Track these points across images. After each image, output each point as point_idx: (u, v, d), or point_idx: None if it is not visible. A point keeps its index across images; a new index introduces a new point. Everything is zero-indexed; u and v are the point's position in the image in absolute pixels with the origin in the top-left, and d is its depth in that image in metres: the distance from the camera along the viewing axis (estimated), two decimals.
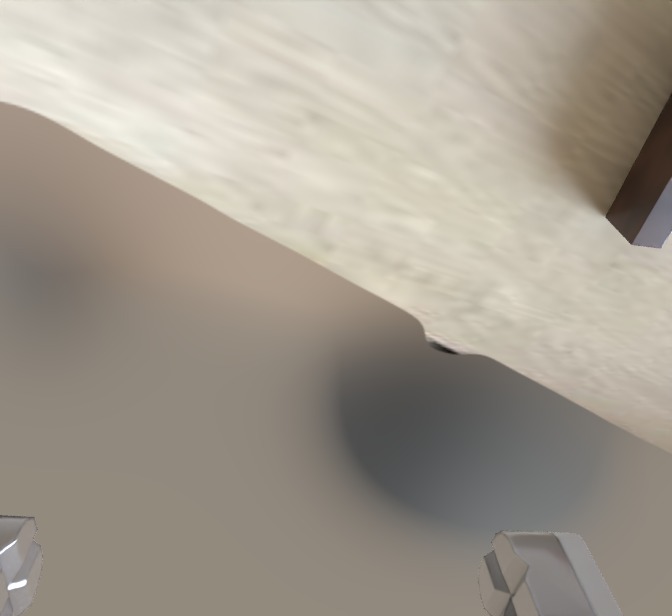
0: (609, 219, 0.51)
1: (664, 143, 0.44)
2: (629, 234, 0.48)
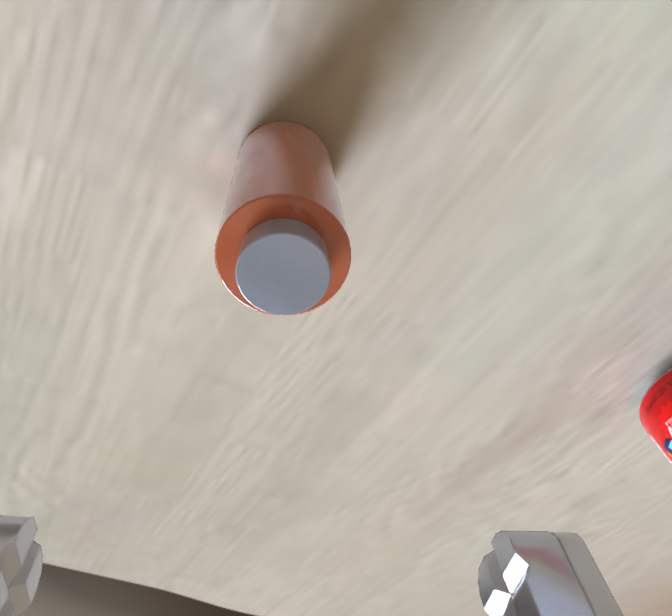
0: None
1: None
2: None
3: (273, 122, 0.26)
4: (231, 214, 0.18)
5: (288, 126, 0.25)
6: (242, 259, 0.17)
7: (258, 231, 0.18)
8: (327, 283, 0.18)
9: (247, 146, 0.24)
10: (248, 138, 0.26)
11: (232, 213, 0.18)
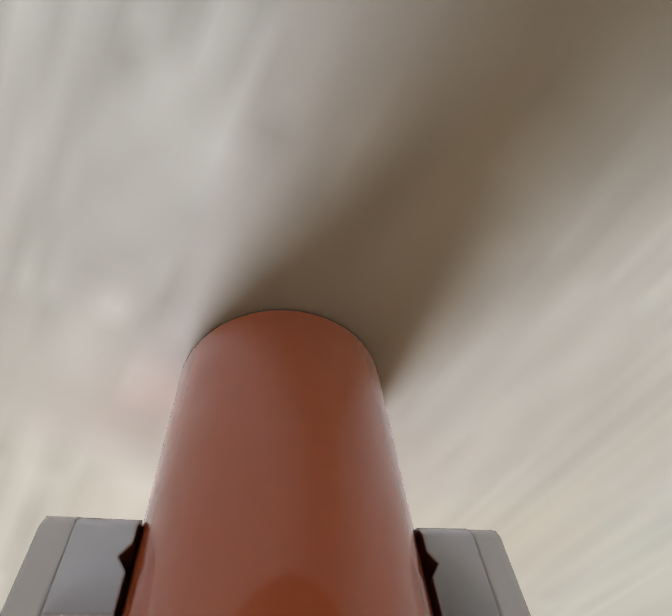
0: None
1: None
2: None
3: (256, 316, 0.12)
4: None
5: (290, 337, 0.11)
6: None
7: None
8: None
9: (192, 400, 0.10)
10: (200, 355, 0.11)
11: None
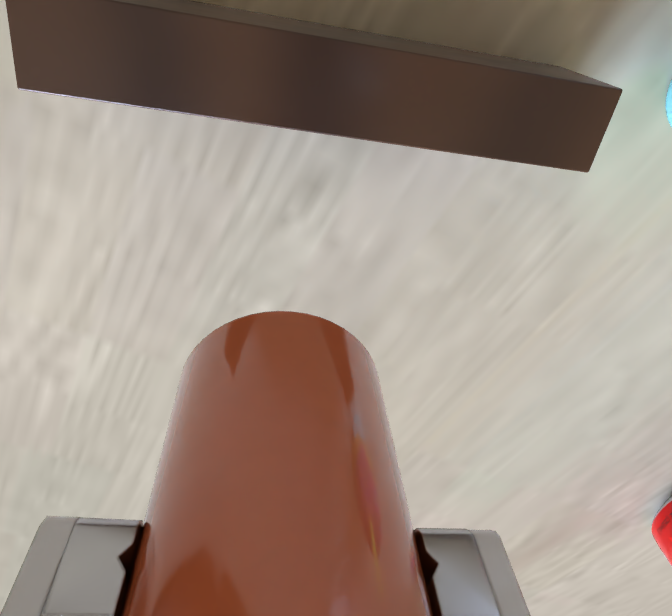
0: None
1: (285, 22, 0.19)
2: None
3: (256, 317, 0.12)
4: None
5: (290, 338, 0.11)
6: None
7: None
8: None
9: (192, 401, 0.10)
10: (200, 356, 0.11)
11: None
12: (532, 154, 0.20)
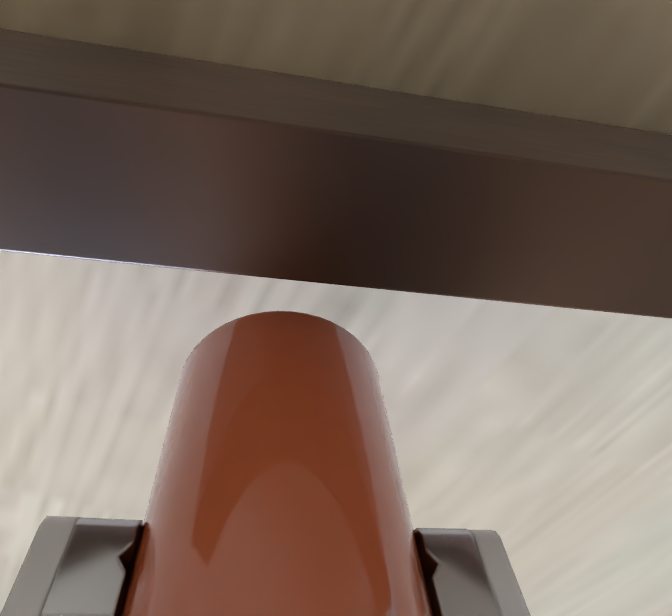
0: None
1: (308, 95, 0.11)
2: None
3: (256, 317, 0.12)
4: None
5: (290, 338, 0.11)
6: None
7: None
8: None
9: (192, 401, 0.10)
10: (200, 356, 0.11)
11: None
12: None
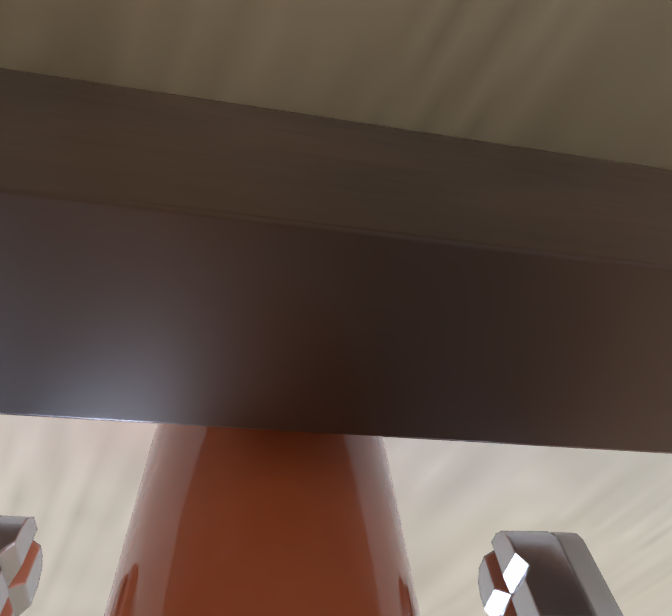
0: None
1: (302, 148, 0.08)
2: None
3: None
4: None
5: None
6: None
7: None
8: None
9: None
10: None
11: None
12: None
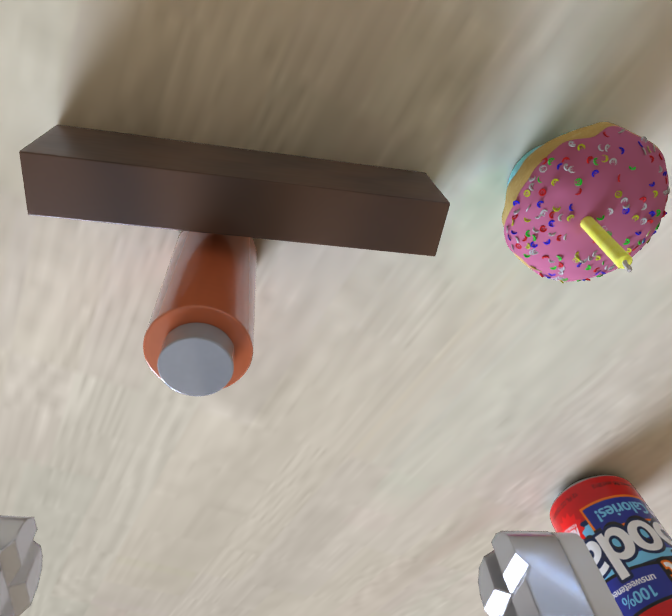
0: (55, 127, 0.27)
1: (215, 157, 0.27)
2: (39, 147, 0.24)
3: None
4: (154, 320, 0.23)
5: None
6: (162, 357, 0.22)
7: (174, 335, 0.23)
8: (231, 372, 0.23)
9: (180, 242, 0.29)
10: (183, 232, 0.31)
11: (154, 320, 0.23)
12: (392, 245, 0.28)
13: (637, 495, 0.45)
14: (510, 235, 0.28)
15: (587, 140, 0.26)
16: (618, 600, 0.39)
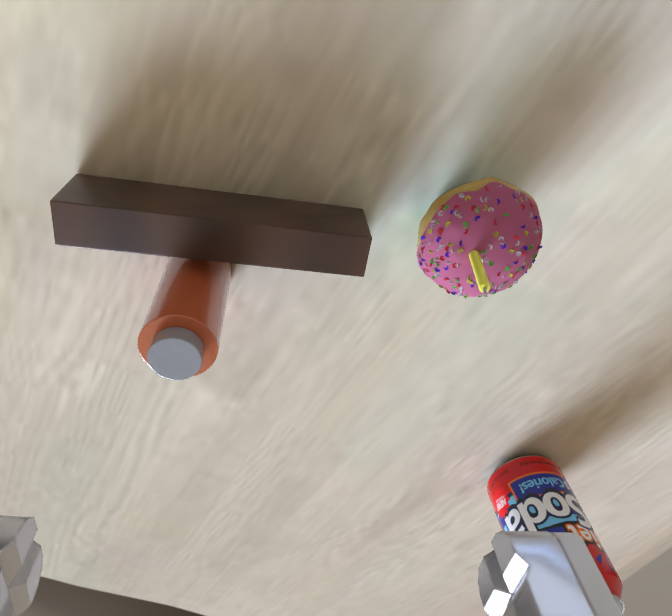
0: (75, 176, 0.36)
1: (195, 200, 0.36)
2: (64, 196, 0.33)
3: None
4: (145, 325, 0.32)
5: None
6: (150, 351, 0.31)
7: (159, 335, 0.31)
8: (200, 363, 0.32)
9: (170, 263, 0.38)
10: None
11: (145, 325, 0.32)
12: (329, 268, 0.36)
13: (558, 472, 0.54)
14: (421, 261, 0.37)
15: (473, 193, 0.34)
16: None
